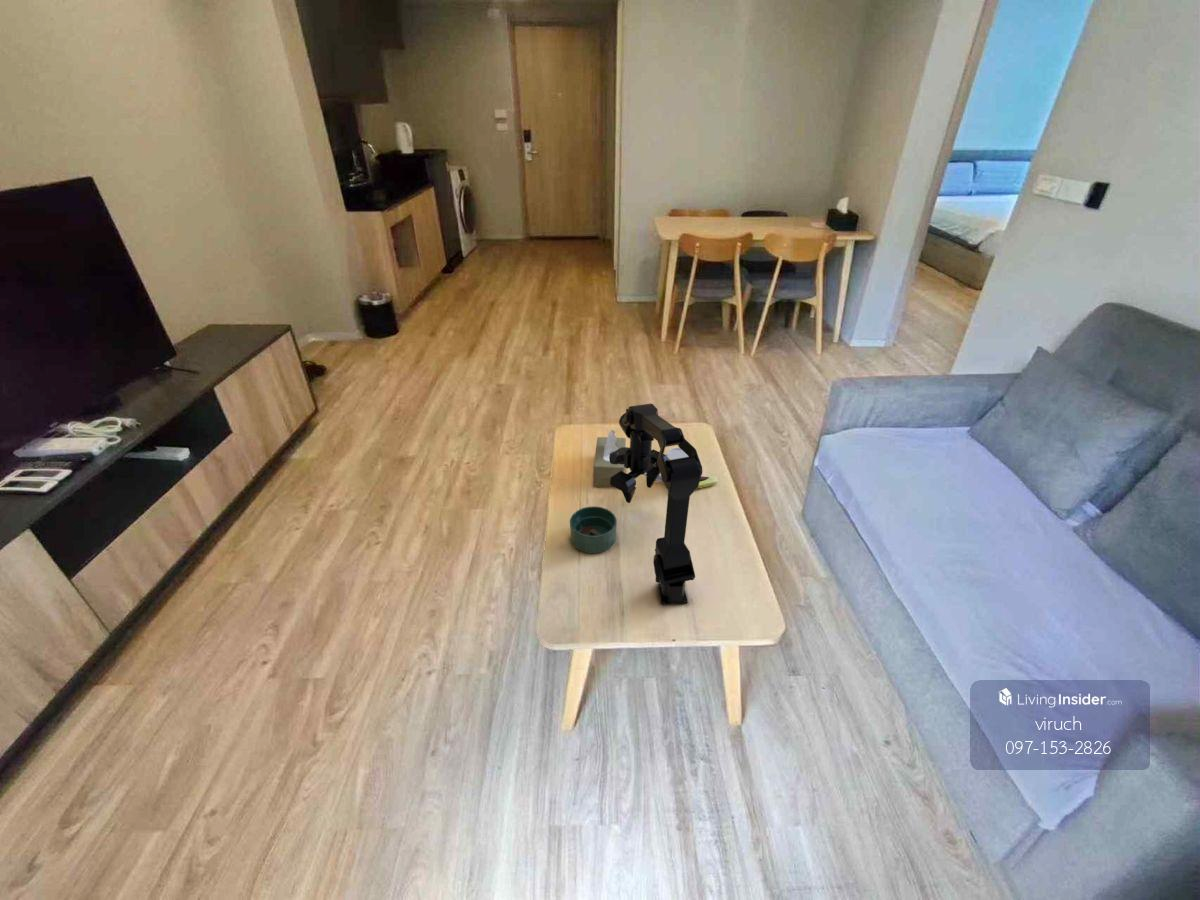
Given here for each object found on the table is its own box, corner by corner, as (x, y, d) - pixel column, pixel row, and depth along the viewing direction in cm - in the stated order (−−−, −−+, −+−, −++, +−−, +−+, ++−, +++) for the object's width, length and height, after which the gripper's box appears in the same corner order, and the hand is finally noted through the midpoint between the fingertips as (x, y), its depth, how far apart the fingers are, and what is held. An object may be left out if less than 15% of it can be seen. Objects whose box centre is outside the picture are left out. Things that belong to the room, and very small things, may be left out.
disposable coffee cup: (698, 490, 171) (701, 459, 165) (671, 497, 168) (674, 466, 162) (683, 475, 178) (686, 444, 172) (657, 481, 176) (659, 450, 169)
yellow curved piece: (639, 485, 174) (717, 491, 171) (639, 479, 172) (718, 484, 170) (641, 472, 180) (716, 477, 177) (641, 465, 179) (717, 470, 176)
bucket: (618, 553, 147) (618, 535, 144) (570, 555, 147) (570, 537, 143) (614, 522, 158) (614, 505, 155) (570, 524, 158) (569, 507, 154)
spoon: (609, 540, 151) (609, 534, 150) (600, 547, 149) (600, 541, 147) (586, 527, 156) (586, 521, 155) (577, 533, 154) (577, 527, 152)
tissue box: (623, 488, 172) (624, 447, 164) (593, 487, 173) (593, 446, 165) (625, 456, 188) (626, 417, 180) (597, 455, 189) (597, 416, 180)
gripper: (638, 424, 152) (637, 469, 160) (594, 451, 140) (595, 498, 149) (670, 438, 146) (667, 484, 154) (627, 467, 134) (625, 515, 143)
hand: (638, 494), depth 150 cm, fingers open, 9 cm apart
